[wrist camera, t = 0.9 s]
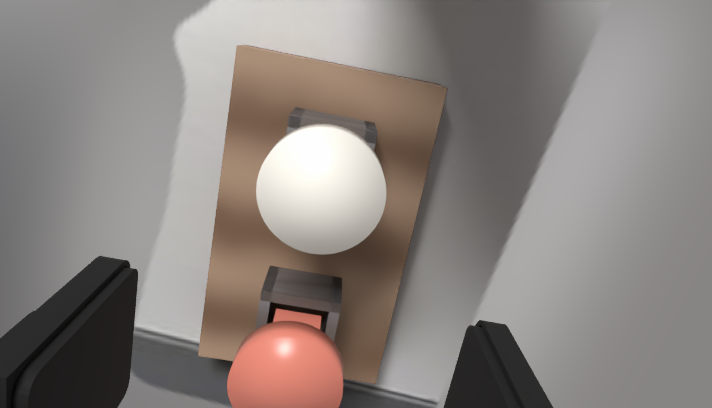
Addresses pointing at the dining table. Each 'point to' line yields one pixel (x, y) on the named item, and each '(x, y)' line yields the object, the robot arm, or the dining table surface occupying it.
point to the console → (288, 265)
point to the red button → (287, 366)
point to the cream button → (321, 189)
